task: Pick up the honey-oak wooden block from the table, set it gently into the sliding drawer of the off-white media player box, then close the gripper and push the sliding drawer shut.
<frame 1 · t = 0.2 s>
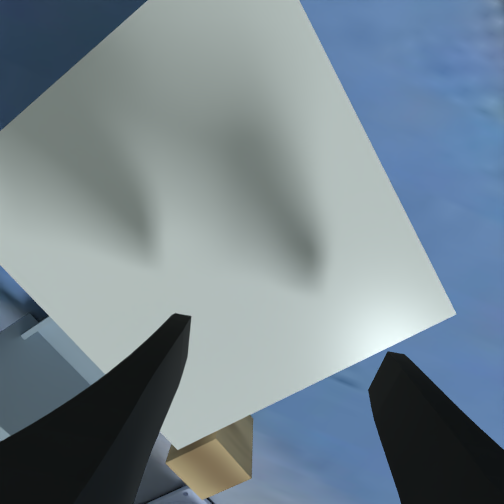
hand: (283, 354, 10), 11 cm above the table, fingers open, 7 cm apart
oak block: (218, 411, 25), on the table
player box: (208, 282, 21), on the table
sliding drawer: (96, 366, 20), point 3 cm above the table, slide at 8.0 cm
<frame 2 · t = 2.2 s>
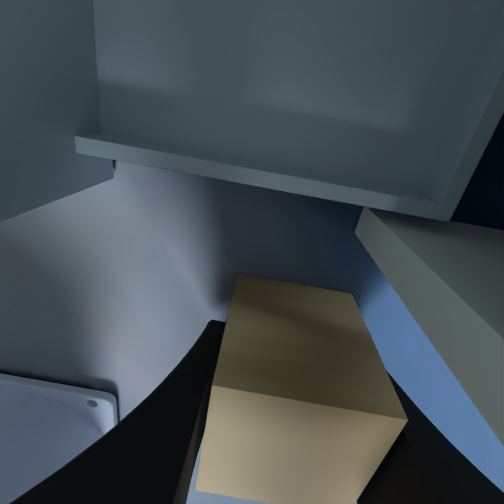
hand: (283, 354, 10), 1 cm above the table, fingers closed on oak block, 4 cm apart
oak block: (282, 328, 12), on the table, touching gripper
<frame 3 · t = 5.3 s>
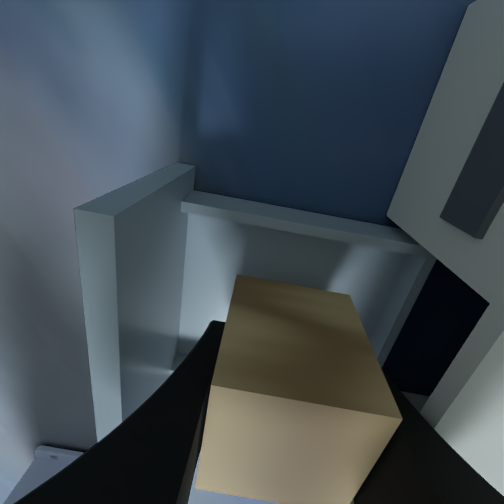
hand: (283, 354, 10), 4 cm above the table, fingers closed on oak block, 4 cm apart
oak block: (281, 328, 12), point 3 cm above the table, touching gripper
player box: (447, 326, 14), on the table
sliding drawer: (276, 345, 11), point 4 cm above the table, slide at 8.0 cm
when the fingers open (4 cm above the table, at t = 6.6 s): oak block drops 2 cm, resting on sliding drawer.
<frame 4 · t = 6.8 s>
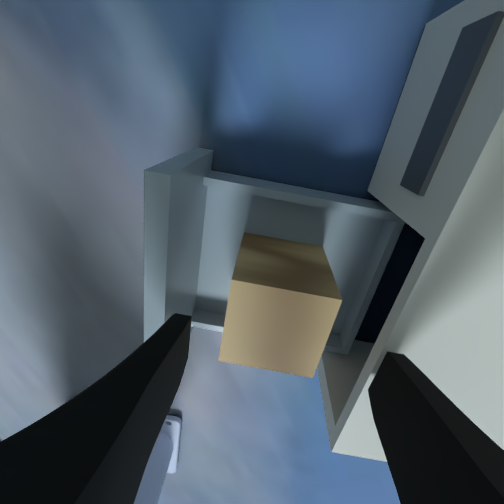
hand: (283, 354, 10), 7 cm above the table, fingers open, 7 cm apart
oak block: (275, 273, 17), point 1 cm above the table, touching sliding drawer
player box: (420, 285, 17), on the table
sliding drawer: (278, 292, 14), point 4 cm above the table, slide at 8.0 cm, touching oak block
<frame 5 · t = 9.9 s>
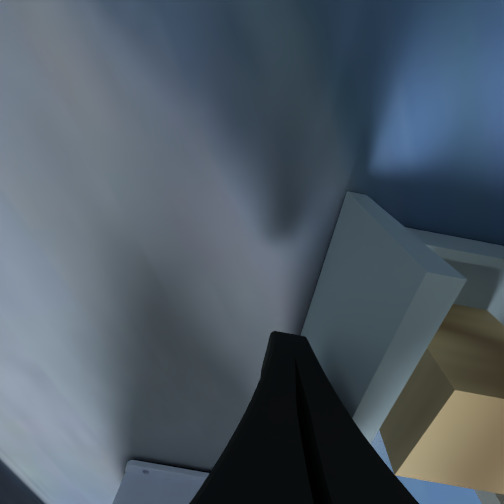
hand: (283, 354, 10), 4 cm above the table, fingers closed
oak block: (417, 338, 14), point 1 cm above the table, touching sliding drawer
sliding drawer: (456, 377, 11), point 4 cm above the table, slide at 7.7 cm, touching gripper, oak block
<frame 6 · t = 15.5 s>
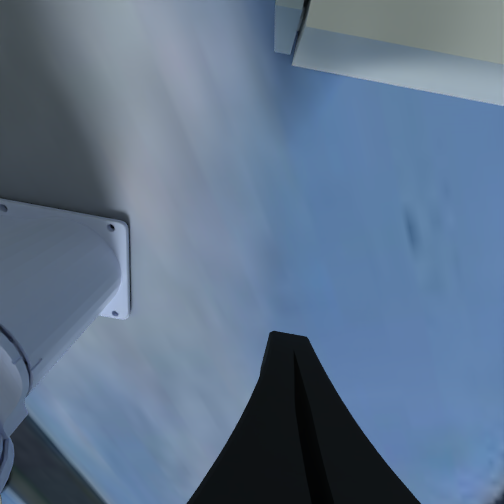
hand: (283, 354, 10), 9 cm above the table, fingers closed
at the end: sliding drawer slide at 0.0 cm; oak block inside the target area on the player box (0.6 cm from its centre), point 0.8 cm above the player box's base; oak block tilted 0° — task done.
